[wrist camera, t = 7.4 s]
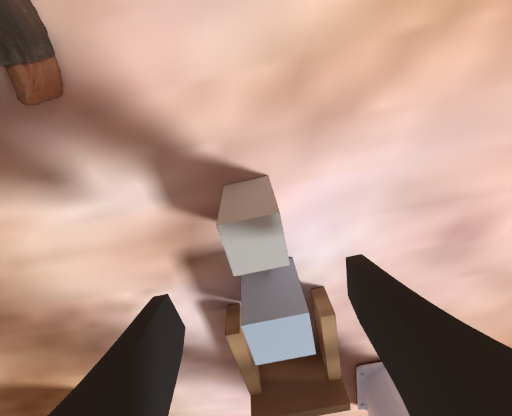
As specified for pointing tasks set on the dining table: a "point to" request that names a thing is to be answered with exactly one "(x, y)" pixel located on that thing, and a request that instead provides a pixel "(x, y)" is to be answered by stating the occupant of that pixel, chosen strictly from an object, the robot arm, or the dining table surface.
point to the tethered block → (264, 273)
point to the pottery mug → (28, 53)
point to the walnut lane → (293, 369)
